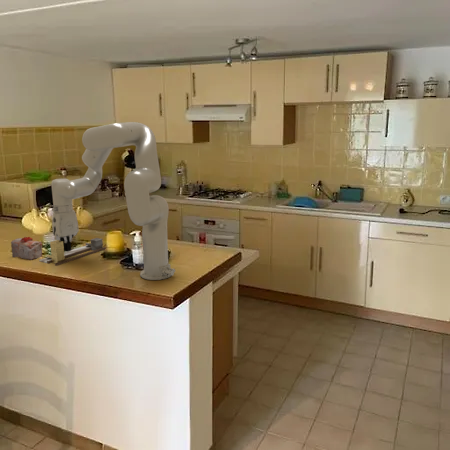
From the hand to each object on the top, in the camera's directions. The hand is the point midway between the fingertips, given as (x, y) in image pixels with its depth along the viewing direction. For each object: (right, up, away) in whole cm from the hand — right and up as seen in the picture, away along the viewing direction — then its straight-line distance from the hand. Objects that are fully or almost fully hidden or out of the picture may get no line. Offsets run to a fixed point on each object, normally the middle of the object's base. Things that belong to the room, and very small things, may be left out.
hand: (67, 250), depth 196 cm
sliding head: (-5, -4, -2) cm, 7 cm away
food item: (-19, -4, +6) cm, 21 cm away
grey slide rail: (0, -3, +7) cm, 8 cm away
